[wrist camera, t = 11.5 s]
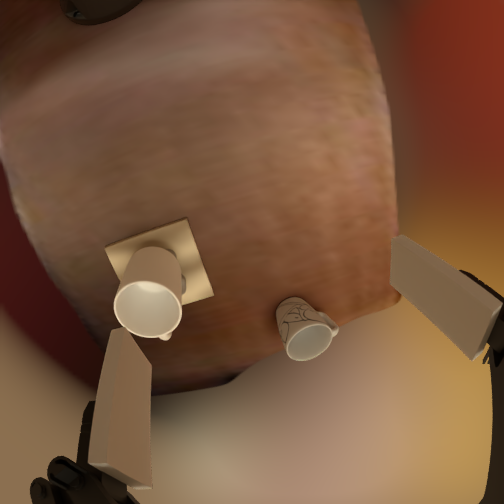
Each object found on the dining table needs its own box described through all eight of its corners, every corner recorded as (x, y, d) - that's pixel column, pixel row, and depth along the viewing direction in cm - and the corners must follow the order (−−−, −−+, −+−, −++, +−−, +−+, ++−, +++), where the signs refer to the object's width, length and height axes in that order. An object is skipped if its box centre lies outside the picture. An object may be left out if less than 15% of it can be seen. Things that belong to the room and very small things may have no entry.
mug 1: (193, 306, 43) (197, 351, 34) (145, 316, 42) (139, 361, 33) (173, 238, 38) (170, 274, 29) (120, 251, 37) (103, 288, 28)
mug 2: (328, 290, 53) (353, 320, 44) (317, 324, 56) (338, 356, 47) (274, 291, 50) (293, 325, 41) (266, 327, 53) (281, 363, 44)
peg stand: (105, 245, 39) (100, 255, 36) (186, 217, 41) (186, 224, 37) (140, 314, 46) (138, 326, 42) (213, 292, 47) (215, 303, 44)
